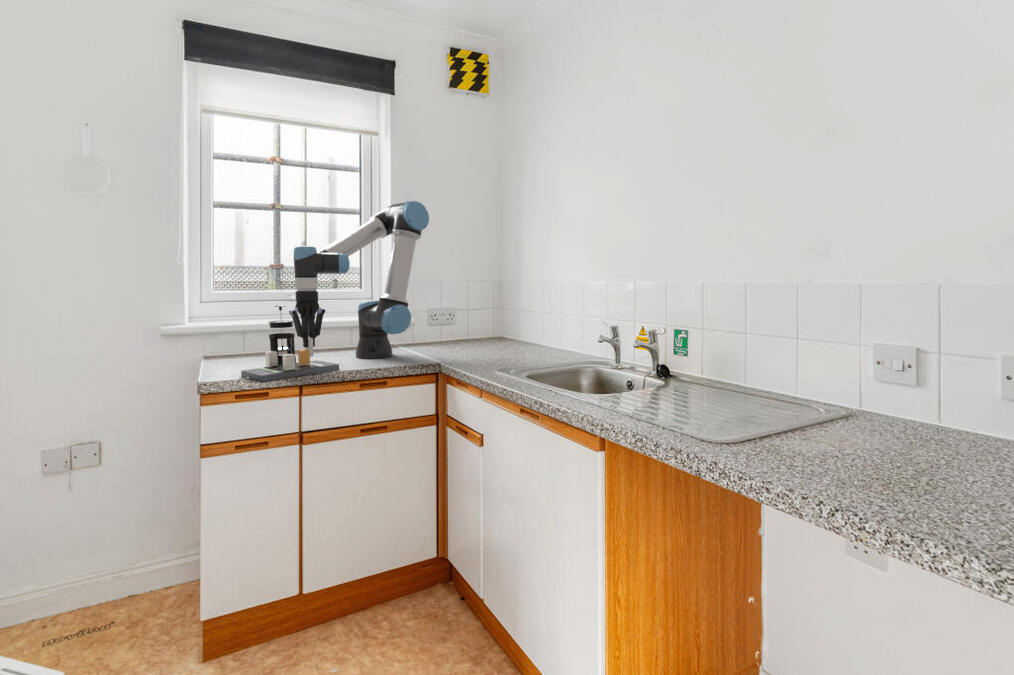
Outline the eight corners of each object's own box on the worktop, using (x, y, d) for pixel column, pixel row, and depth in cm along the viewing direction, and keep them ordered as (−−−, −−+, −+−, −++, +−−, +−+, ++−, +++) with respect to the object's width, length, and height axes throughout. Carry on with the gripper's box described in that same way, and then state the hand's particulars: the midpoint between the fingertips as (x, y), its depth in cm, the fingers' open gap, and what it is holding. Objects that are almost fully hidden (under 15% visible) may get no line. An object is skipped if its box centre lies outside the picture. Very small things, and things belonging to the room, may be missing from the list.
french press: (280, 362, 207) (277, 304, 204) (302, 363, 205) (299, 304, 203) (262, 368, 195) (258, 306, 193) (285, 368, 194) (281, 306, 191)
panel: (316, 365, 200) (315, 345, 199) (339, 369, 190) (338, 349, 189) (241, 376, 179) (239, 354, 178) (262, 381, 169) (261, 358, 168)
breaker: (306, 363, 190) (305, 349, 189) (310, 363, 188) (309, 350, 188) (298, 364, 187) (297, 350, 187) (302, 365, 186) (301, 351, 185)
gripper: (317, 289, 194) (320, 353, 197) (283, 290, 184) (287, 357, 187) (329, 290, 189) (331, 355, 192) (294, 290, 179) (297, 359, 182)
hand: (309, 356), depth 189 cm, fingers closed
